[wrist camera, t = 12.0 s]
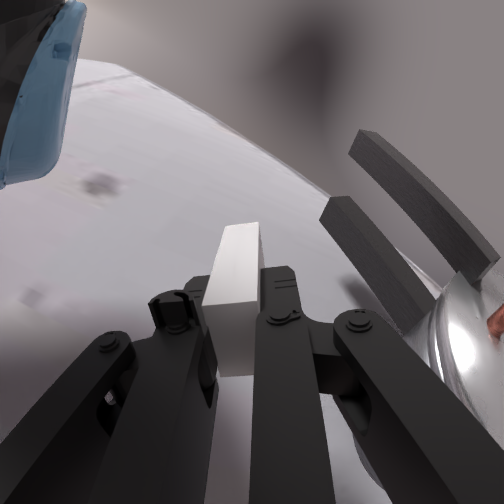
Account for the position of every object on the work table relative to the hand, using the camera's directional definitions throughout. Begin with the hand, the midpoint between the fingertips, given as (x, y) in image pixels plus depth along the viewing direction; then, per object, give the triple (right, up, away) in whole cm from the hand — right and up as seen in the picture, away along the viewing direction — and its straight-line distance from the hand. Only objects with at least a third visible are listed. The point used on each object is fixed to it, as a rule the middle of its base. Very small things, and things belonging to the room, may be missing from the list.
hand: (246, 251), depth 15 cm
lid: (+17, -4, +4) cm, 18 cm away
